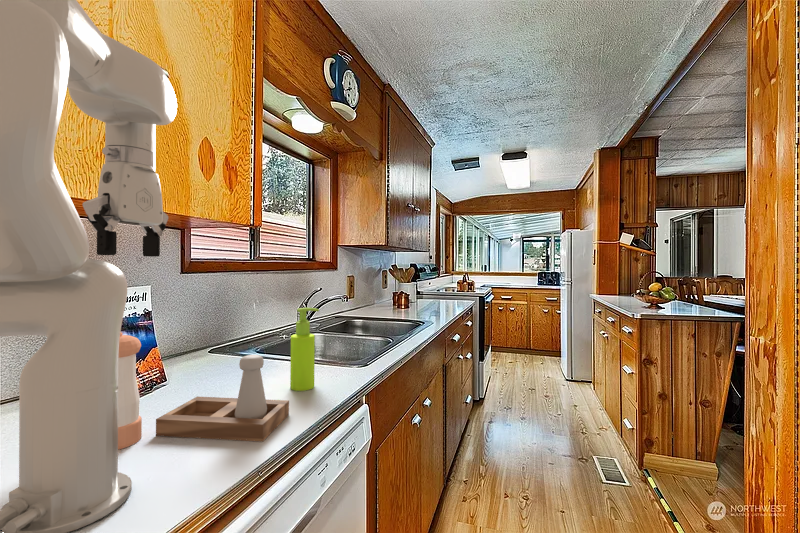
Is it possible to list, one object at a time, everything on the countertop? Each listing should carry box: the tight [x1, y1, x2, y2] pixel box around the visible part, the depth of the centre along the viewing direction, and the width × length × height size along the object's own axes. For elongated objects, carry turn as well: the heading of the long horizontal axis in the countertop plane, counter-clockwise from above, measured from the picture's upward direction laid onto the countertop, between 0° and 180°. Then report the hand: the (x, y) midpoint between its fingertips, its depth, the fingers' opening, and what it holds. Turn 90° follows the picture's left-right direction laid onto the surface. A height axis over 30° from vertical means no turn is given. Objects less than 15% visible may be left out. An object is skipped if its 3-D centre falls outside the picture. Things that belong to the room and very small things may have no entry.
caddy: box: [155, 396, 290, 443], centre depth 74 cm, size 12×20×3 cm, turn 85°
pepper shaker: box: [118, 331, 143, 451], centre depth 67 cm, size 7×7×19 cm
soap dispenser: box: [289, 307, 320, 392], centre depth 98 cm, size 6×7×20 cm
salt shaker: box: [235, 354, 267, 419], centre depth 74 cm, size 6×6×13 cm
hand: (130, 255), depth 70 cm, fingers open, 9 cm apart
